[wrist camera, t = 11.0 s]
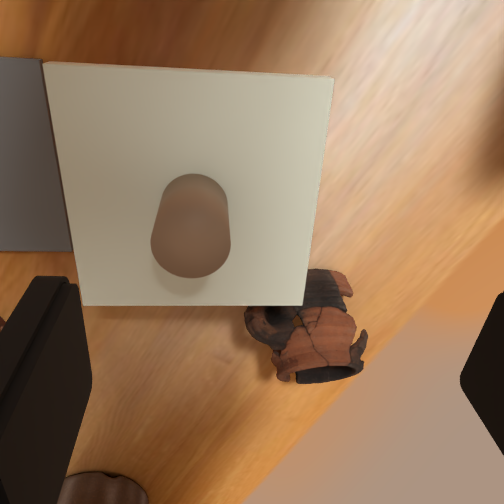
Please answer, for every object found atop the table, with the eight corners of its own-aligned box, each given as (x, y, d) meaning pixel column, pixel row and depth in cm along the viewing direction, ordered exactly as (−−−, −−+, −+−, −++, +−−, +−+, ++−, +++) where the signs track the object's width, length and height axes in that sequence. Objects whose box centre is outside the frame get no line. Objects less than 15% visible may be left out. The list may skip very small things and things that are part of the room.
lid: (50, 61, 22) (-1, 77, 17) (329, 76, 24) (363, 95, 18) (87, 295, 30) (60, 358, 24) (299, 295, 31) (317, 355, 26)
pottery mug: (376, 274, 39) (398, 364, 35) (311, 311, 46) (323, 390, 42) (267, 247, 33) (278, 352, 29) (211, 293, 40) (213, 383, 36)
